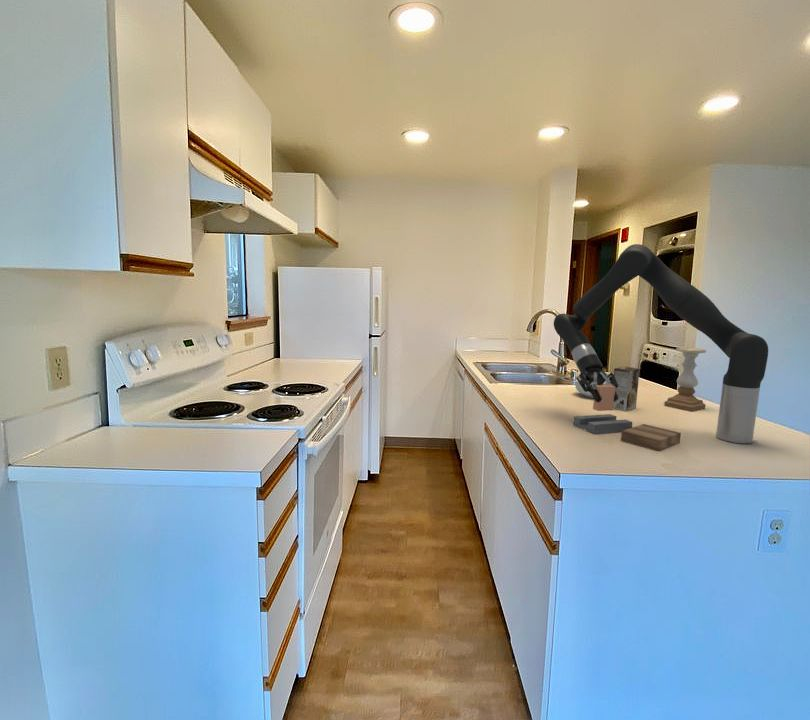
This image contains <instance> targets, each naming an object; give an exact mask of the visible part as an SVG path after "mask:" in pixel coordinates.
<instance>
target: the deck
mask: <svg viewBox="0 0 810 720" xmlns="http://www.w3.org/2000/svg"><path fill="white" fill-rule="evenodd" d="M681 434H682V433H681V432H680V431H676V430H671V429H666V428H662V427H658V426H655V425H654V426H653V425H651V424H650V425H649V424H645V423H643V424H639V425H636V426H632V428H630V429H627V430H623V431H622V432H621V434H620V441H621V442H625V443H627V444H628V443H629V444H632V445H635V446H640V447H644V448H646V449H650V450H653V451H657V452H660V451H662V450H665V449H666V448H669V447H672V446H674V445H676V444H678V443H681Z"/></svg>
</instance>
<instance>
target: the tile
mask: <svg viewBox="0 0 810 720" xmlns="http://www.w3.org/2000/svg"><path fill="white" fill-rule="evenodd" d="M596 390H598V392H599V394H600V396H601V398H602V400H601V401H600V402H596V401H595V400H594V399H593V405H592V410H594V411H597V412H603V411H605V412H606V411H614V409H613V407H614V395H615V386H612V385H597V386H596Z"/></svg>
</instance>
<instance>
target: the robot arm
mask: <svg viewBox="0 0 810 720" xmlns="http://www.w3.org/2000/svg"><path fill="white" fill-rule="evenodd" d="M638 276H639V277H640V278H641V279H643V280H644V281H645V282H647V283H648V284H649V285H650V286H651V287H652V288H653V289H654V290H655V292H656V293H657V295H658V296H659V298H660V299H661V300H662V302H664V304H665V305H666V306H667V308H669V310H671V311H672V312H674V313H675V314H676V315H677V317H679V318H681V319H682V320H683V321H685V322H686V323H687V324H689V325H690V326H691V327H693V328H694V329H696V330H698V331H699V332H701V333H702V334H704V335H705V336H706V337H708V338H709V339H710V340H711V341H712V342H713V343H714V344H715V345H716V346H717V347H718V348H719V349H720V350H721V351H722V352H723V353H724V355H726V356H727V357H728V359H729V360H728V367H727V370H726V372H725V374H724V375H723V377H722V384H721V385H722V386H721V395H720V402H719V403H720V404H719V409H718V410H719V411H718V418H717V424H716V426H717V427H716V433H715V437H716V438H718V439H720V440H722V441H726V442H730V443H733V444H734V443H735V444H746V445H747V443H748V444H752V443H753V441H754V440H753V439H754V434H755V427H756V420H757V412H758V405H759V399H760V398H759V397H760V389H761V384H762V381H763V380H764V378H765V374H766V369H767V363H768V357H769V346H768V343H767V341H766V340H765V339H764V337H761V336H760V335H757V334H754V333H753V334H752V333H748V332H747V331H745V330H743V329H742V328H740V327H739V326H738V325H736V324H734V323H733V322H731V321H730V320H728V319H727V317H726V316H724V314H723V313H722V312H721V310H719V308H718V307H717V306H716V304H715V303H714V302H713V301H712V300H711V299H710V298H709V297H708V296H707V295H705V294H704V293H703V292H702V291H701V290H699V289H698V288H697V287H696V286H694V285H693V284H691V283H690V282H689V281H687V280H686V279H684V278H683V277H682V276H680V275H679V274H678V273H676V272H675V271H674V270H672V269H671V268H670V267H668V266H667V265H666V264H665V263H664V262H663V261H662V260H661V259H660V258H659V257H658V256H657V255H656V254H655V253H654V252H653V251H652V250H651V249H650V248H649V247H648V246H647V245H646V246H645V245H644V244H640V243H637V244H636V243H635V244H631V245H629V246H628V247H626V248H625V249H624V250H623V251H622V252H621V253H620V254H619V257H618V258H617V259H616V261H615V262H614V264H613V265H612V267H611V268H610V270H608V272H607V273H606V274H605V275H604V276H603V277H602V279H600V280H599V281H598V282H596V283H595V284H594V285H593V286H592V287H591V288H590V289H589V290H588V291H586V292H585V294H583V295H582V296H581V297H580V298H579V299H578V300H577V301H576V302H575V304H574V305H573V307H572V310H573V312H574V314H567V313H559V314H557V315H556V316H555V318H554V320H553V328H554V330H555V332H556V334H557V335H558V336H559V337H560V339H561V340H562V341H563V342H564V344H566V345H567V348H568V349H569V351H570V354H571V355H572V356H571V357H572V359H573V361H574V363H575V364H576V367H577V369H578V370H579V375H577V377H576V379H577V380H578V382H579V384H580V385H581V387H582V388H583V390H584V391H585V392H587V391H588V392H590V393H591V394H592V396H593V398H592V399H593V401H594V400H595V401H596V402H600V401H601V400H602V398H601V396H600V394H599V392H598V390H596V385H612V386H615V389H616V388H617V387H618V384H617V381H616V379H615V376H614V372H609V373H606V371H605V370H604V369H603V364H602V362H601V360H600V358H599V356H598V354H597V353H596V351H595V349H594V348H593V346H592V344H591V343H590V341H589V339H588V337H587V336H586V334H585V333H583V332H581V331H582V330H583V329H584V328H585V325H586V324H587V323H588V321H589V319H590V318H591V317H592V316H593V315H594V314H595V313H596V312H598V310H599V309H600V308H601V307H602V306H603V305H604V304H605V303H606V302H607V301H608V300H609V299H611V297H612V296H613V295H614V294H615V293H616V292H617V291H619V290H620V289H621V288H622V287H624V286H625V285H626V284H628V283H629V282H631V281H632V280H633V279H635V278H637V277H638ZM576 379H575V380H576ZM605 381H606V383H605V384H603V383H604V382H605ZM613 384H614V385H613ZM585 385H586V386H587V387H586V386H585ZM617 400H618V395H617V393H616V391H615V395H614V402H615V401H617Z"/></svg>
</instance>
